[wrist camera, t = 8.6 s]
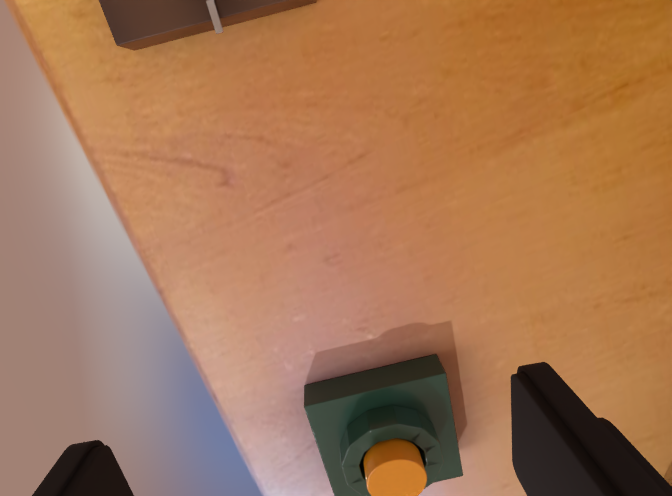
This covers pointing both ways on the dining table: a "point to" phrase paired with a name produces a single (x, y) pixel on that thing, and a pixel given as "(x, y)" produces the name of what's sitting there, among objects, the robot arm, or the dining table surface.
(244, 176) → the dining table surface
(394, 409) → the switch box
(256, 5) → the dimmer
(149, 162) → the dining table surface
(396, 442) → the button
